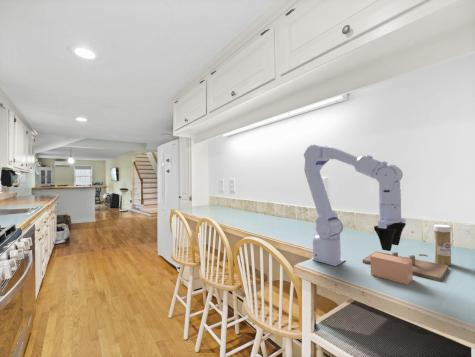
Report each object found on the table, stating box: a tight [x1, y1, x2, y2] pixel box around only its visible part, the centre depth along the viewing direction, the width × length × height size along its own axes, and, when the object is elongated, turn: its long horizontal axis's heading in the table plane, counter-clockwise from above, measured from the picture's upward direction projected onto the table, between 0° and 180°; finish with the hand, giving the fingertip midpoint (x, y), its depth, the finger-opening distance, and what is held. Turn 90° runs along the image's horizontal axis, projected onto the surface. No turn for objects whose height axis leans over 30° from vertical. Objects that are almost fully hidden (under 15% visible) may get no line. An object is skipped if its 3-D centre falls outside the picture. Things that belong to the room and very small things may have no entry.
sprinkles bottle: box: [433, 224, 452, 267], centre depth 84 cm, size 5×5×14 cm
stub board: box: [362, 251, 449, 282], centre depth 83 cm, size 22×13×4 cm, turn 41°
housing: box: [370, 253, 414, 285], centre depth 75 cm, size 10×5×6 cm, turn 41°
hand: (390, 247), depth 74 cm, fingers open, 7 cm apart
